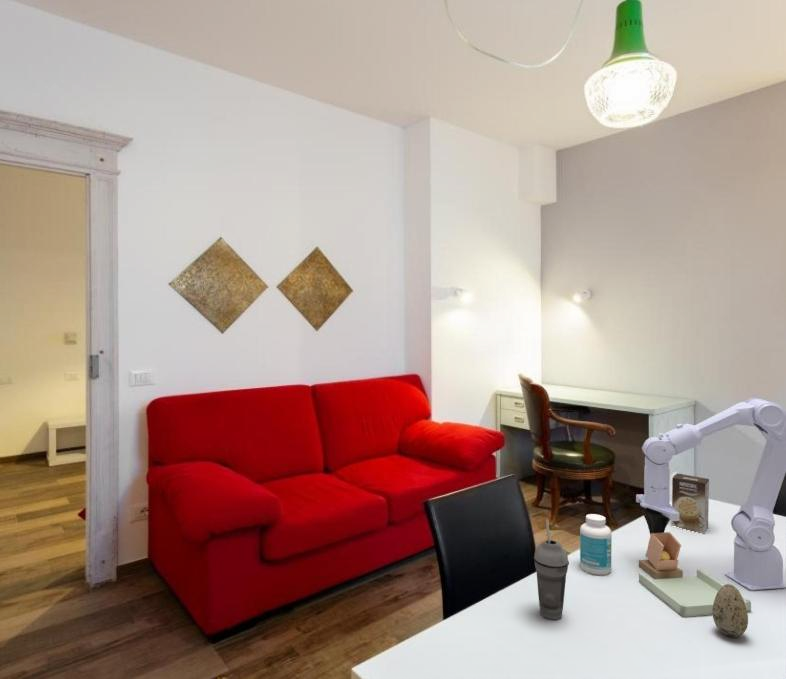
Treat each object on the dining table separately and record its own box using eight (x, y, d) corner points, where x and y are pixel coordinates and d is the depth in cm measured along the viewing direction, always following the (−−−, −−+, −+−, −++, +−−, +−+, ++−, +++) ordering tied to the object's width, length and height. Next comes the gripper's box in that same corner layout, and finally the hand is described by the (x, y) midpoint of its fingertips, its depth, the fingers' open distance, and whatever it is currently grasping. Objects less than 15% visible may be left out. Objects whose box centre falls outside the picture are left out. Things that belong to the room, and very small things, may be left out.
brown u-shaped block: (663, 554, 132) (669, 532, 129) (676, 569, 127) (682, 546, 125) (645, 555, 131) (651, 533, 129) (657, 570, 126) (663, 547, 124)
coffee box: (670, 529, 158) (670, 477, 158) (675, 523, 163) (675, 472, 162) (704, 537, 152) (705, 482, 152) (709, 530, 157) (709, 478, 156)
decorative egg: (740, 647, 99) (741, 595, 99) (707, 632, 103) (707, 583, 103) (752, 636, 102) (753, 586, 102) (719, 623, 107) (720, 575, 107)
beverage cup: (550, 626, 106) (551, 529, 106) (526, 609, 112) (526, 518, 112) (576, 617, 109) (576, 523, 109) (551, 601, 116) (551, 512, 115)
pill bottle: (614, 578, 127) (614, 523, 126) (582, 575, 128) (582, 521, 128) (607, 564, 134) (608, 512, 134) (578, 562, 135) (578, 511, 135)
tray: (699, 578, 127) (699, 569, 127) (751, 611, 111) (751, 601, 111) (638, 582, 125) (638, 573, 124) (682, 617, 109) (682, 607, 109)
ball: (663, 554, 130) (668, 547, 128) (670, 565, 128) (674, 559, 126) (652, 555, 130) (656, 548, 128) (658, 566, 127) (662, 560, 125)
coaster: (664, 566, 133) (664, 558, 133) (682, 579, 126) (682, 571, 126) (638, 567, 132) (638, 560, 132) (656, 581, 125) (656, 572, 125)
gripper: (625, 478, 137) (625, 529, 137) (660, 495, 123) (660, 552, 123) (650, 477, 138) (650, 528, 138) (687, 494, 123) (687, 550, 124)
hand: (656, 539), depth 130 cm, fingers closed
